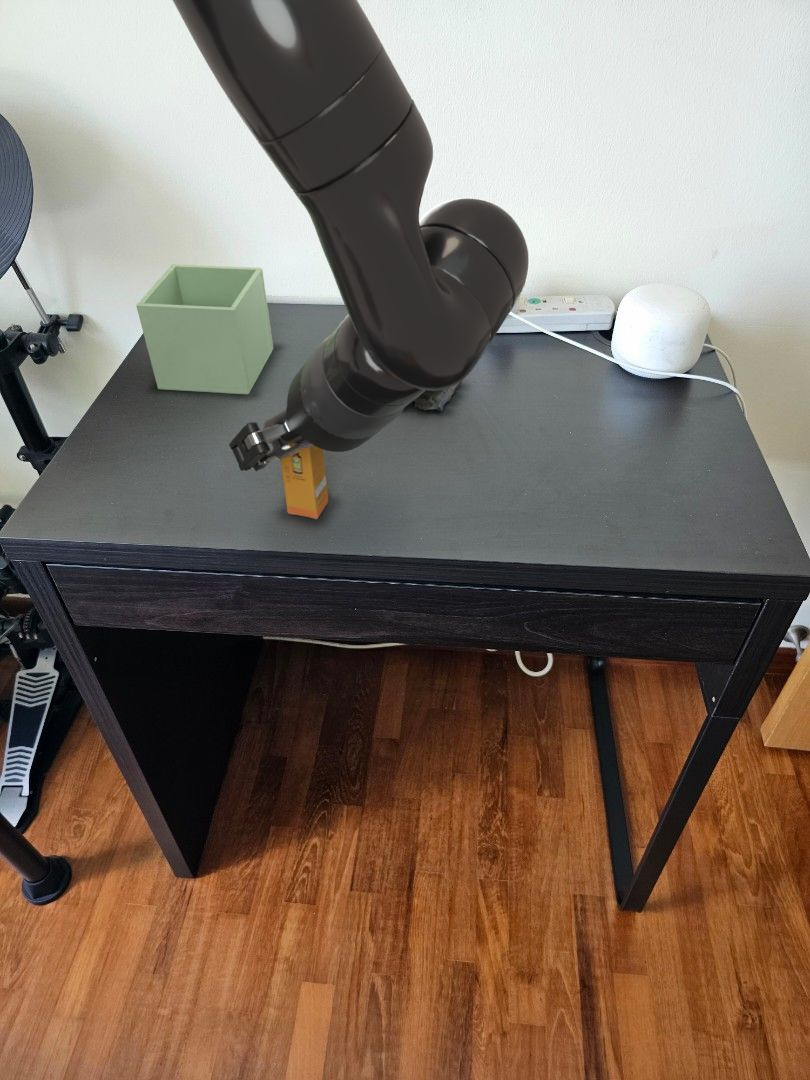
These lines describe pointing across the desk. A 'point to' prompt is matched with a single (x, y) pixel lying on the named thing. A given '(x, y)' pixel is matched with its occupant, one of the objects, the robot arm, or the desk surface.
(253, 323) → the trash bin
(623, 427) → the desk surface
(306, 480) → the supplement box
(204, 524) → the desk surface
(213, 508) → the desk surface
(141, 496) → the desk surface
